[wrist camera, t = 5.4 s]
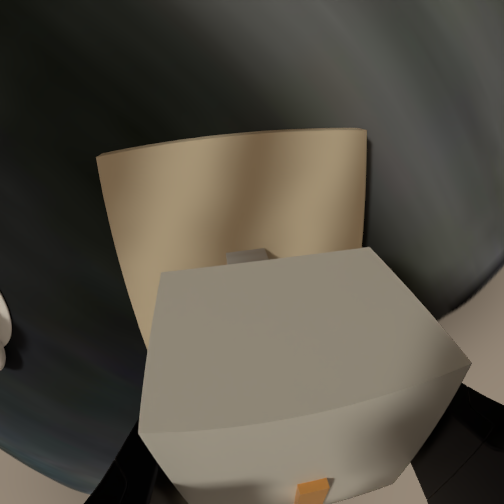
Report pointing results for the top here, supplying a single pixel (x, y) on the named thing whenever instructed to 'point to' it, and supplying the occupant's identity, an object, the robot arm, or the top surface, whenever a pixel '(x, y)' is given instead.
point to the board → (231, 202)
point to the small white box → (292, 379)
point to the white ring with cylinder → (4, 330)
